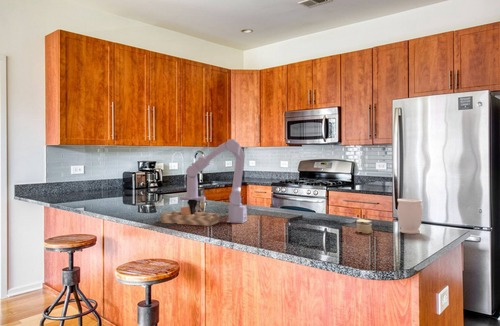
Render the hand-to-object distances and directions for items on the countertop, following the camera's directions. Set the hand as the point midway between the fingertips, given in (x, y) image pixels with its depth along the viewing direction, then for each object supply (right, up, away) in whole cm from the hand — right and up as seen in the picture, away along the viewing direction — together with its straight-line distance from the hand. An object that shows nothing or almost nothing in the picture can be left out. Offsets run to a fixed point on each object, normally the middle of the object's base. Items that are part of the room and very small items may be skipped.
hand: (192, 214), depth 198 cm
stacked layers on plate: (+83, -5, -26) cm, 87 cm away
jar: (+103, -5, -28) cm, 107 cm away
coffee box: (0, -4, +20) cm, 21 cm away
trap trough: (-2, -5, +1) cm, 5 cm away
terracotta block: (-3, -1, +1) cm, 3 cm away
